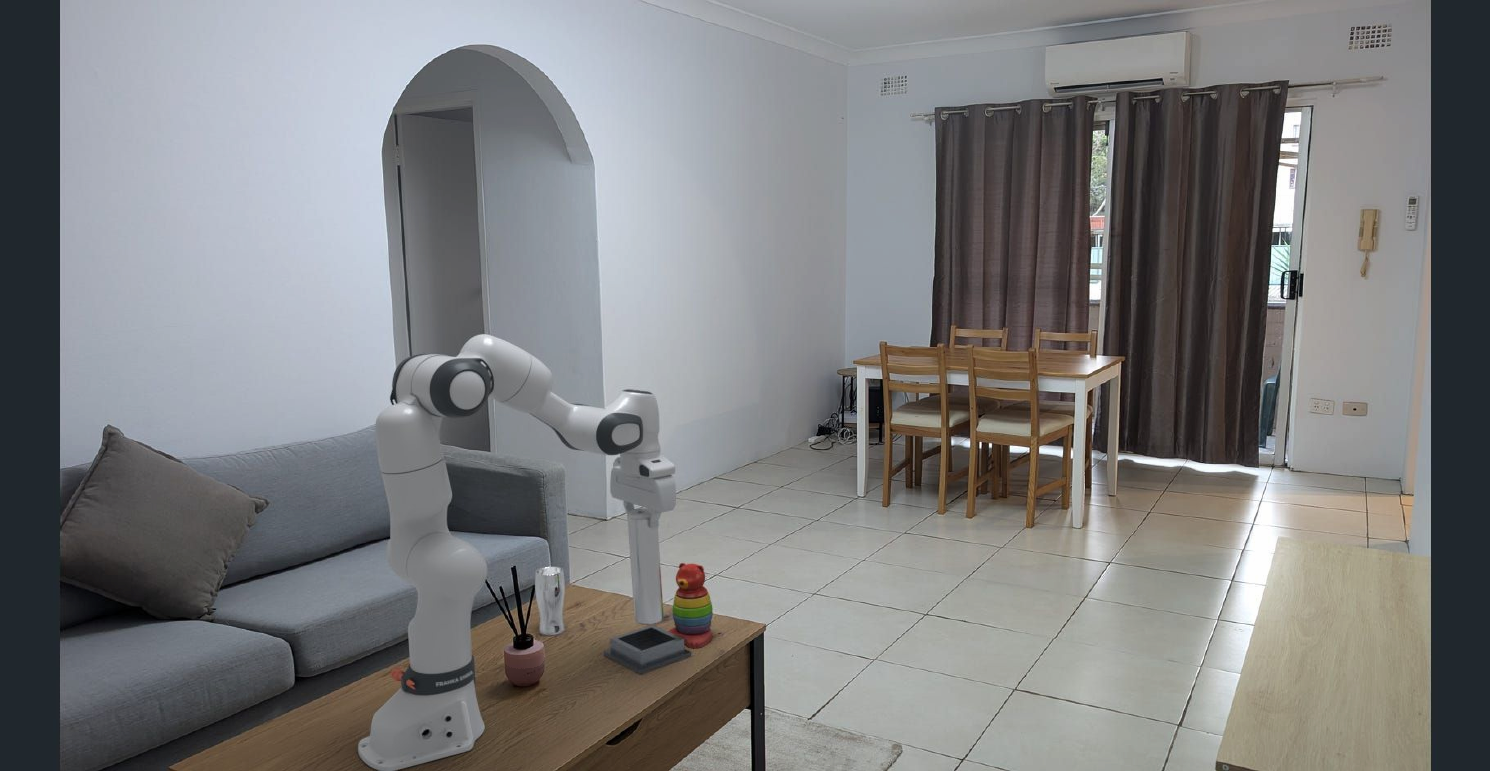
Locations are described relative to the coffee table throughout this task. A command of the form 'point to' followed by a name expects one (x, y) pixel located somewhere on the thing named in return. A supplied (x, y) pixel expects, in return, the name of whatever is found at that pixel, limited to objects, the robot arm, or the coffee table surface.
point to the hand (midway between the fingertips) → (642, 524)
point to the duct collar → (646, 649)
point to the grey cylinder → (645, 568)
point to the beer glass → (550, 599)
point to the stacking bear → (692, 607)
